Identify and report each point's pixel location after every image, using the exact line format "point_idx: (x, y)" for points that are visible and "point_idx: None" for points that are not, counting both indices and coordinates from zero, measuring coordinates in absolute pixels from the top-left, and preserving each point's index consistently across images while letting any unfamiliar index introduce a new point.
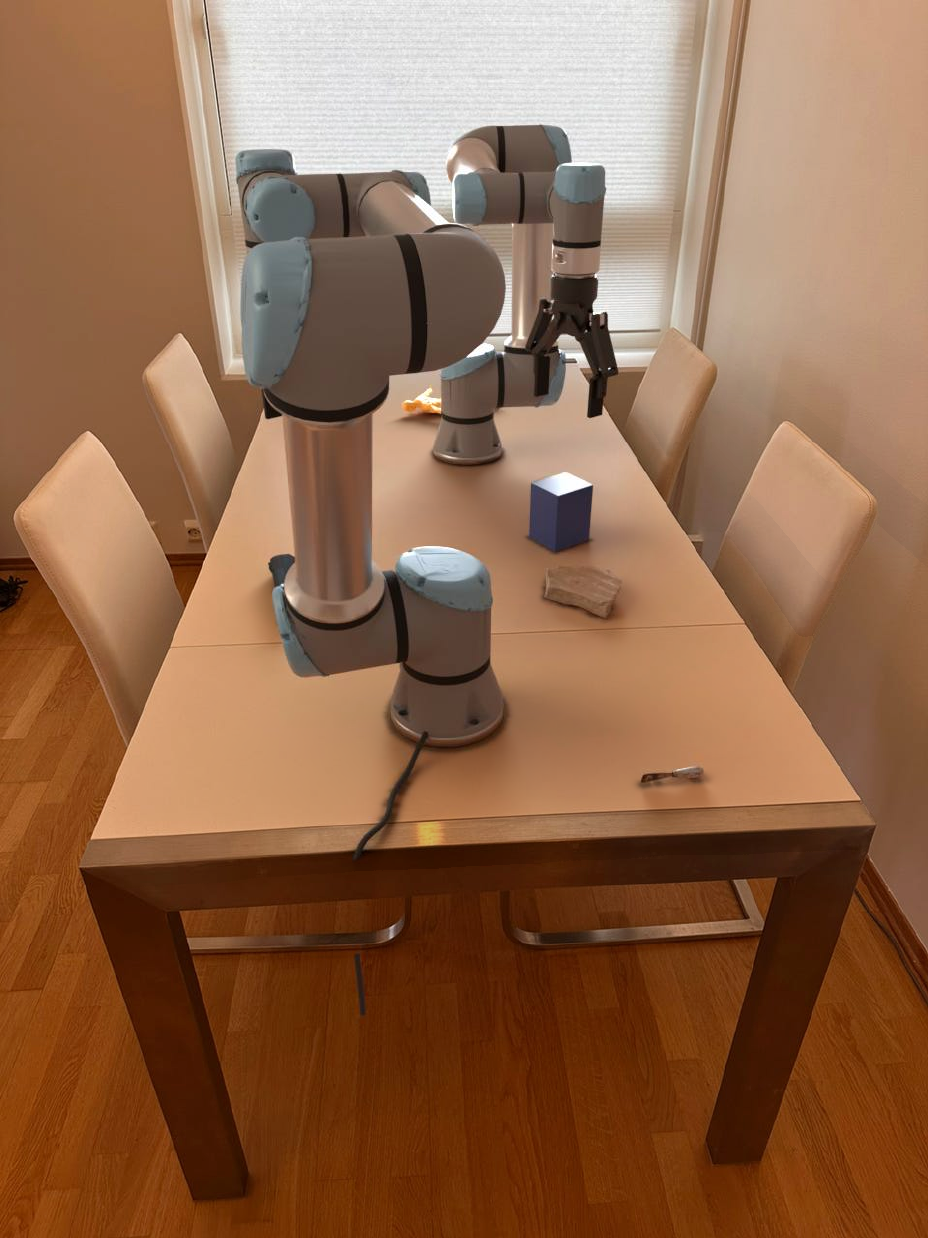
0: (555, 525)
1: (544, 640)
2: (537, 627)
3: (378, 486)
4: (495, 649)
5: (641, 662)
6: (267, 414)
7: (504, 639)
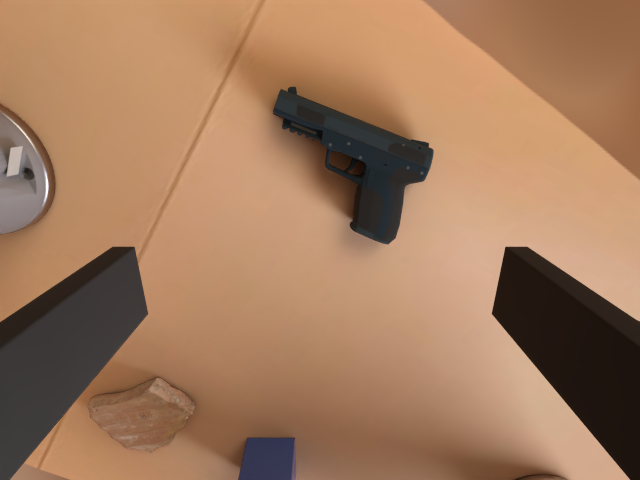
0: (242, 470)
1: None
2: None
3: (542, 386)
4: None
5: None
6: (515, 258)
7: None
